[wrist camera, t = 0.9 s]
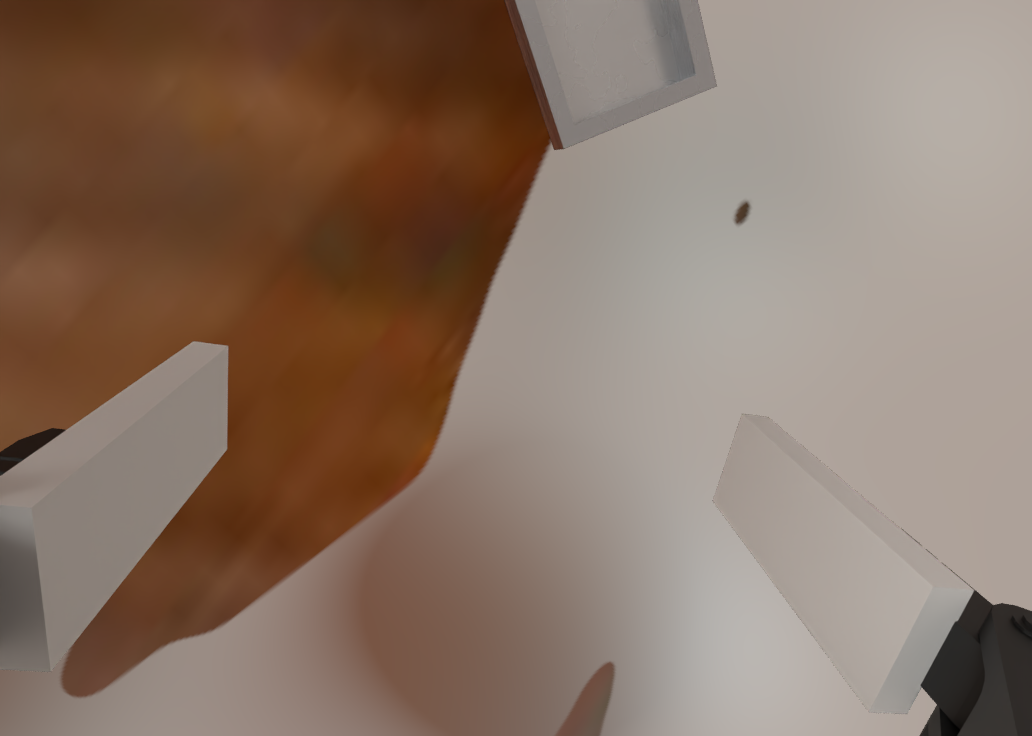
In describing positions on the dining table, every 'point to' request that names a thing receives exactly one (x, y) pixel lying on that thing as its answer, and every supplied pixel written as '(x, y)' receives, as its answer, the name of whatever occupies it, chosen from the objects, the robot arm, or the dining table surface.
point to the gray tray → (609, 60)
